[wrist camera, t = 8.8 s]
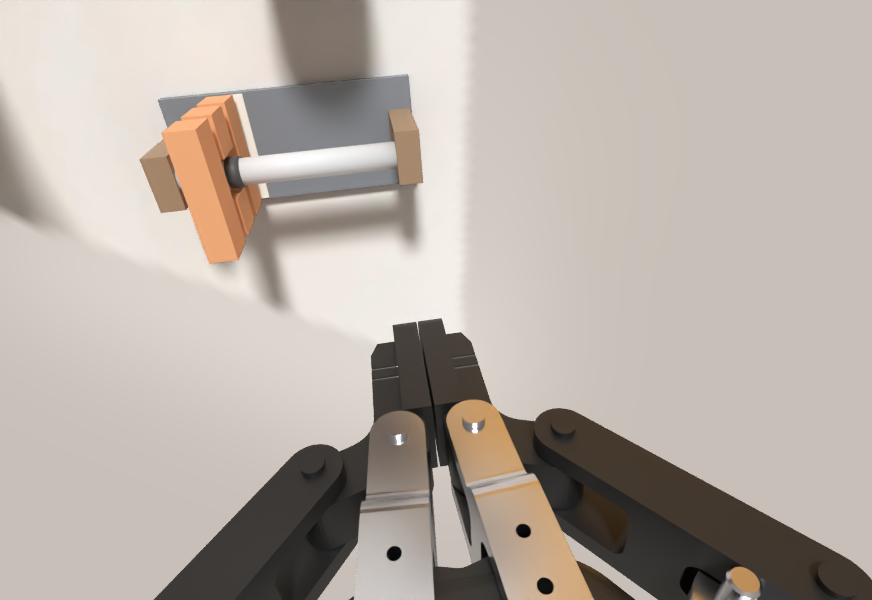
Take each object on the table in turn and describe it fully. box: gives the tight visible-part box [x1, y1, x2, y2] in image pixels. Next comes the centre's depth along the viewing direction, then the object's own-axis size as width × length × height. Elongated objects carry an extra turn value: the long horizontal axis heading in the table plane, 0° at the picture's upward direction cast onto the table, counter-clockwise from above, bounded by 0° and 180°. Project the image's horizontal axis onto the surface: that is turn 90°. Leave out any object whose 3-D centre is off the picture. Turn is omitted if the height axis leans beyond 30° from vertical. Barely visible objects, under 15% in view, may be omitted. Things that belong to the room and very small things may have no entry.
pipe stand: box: [140, 74, 423, 213], centre depth 40 cm, size 20×9×8 cm, turn 94°
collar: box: [161, 95, 262, 264], centre depth 37 cm, size 2×9×11 cm, turn 5°
